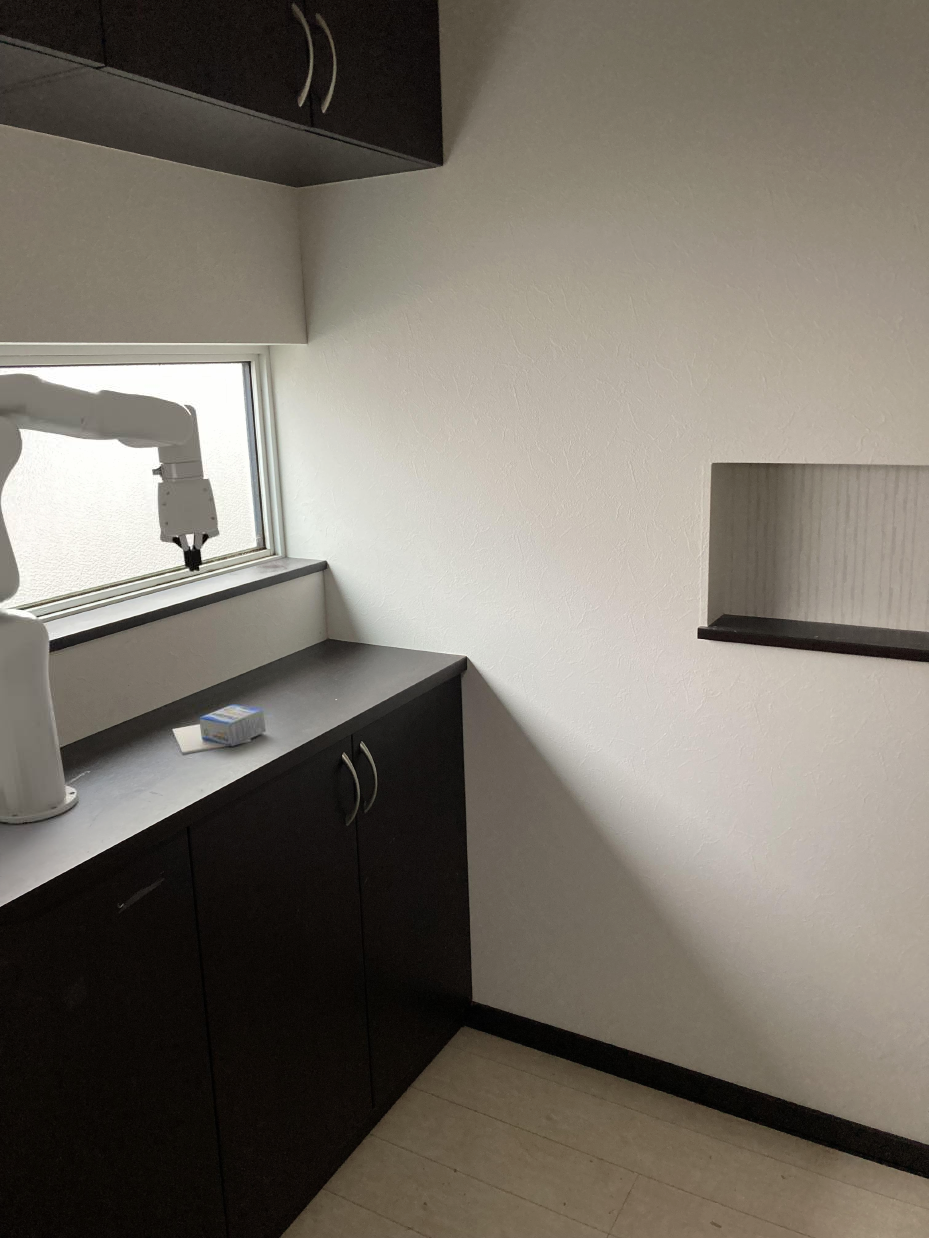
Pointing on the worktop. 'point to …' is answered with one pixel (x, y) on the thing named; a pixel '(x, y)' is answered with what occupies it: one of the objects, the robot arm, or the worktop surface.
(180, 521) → the robot arm
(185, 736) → the mat
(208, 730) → the medicine box
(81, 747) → the worktop surface
